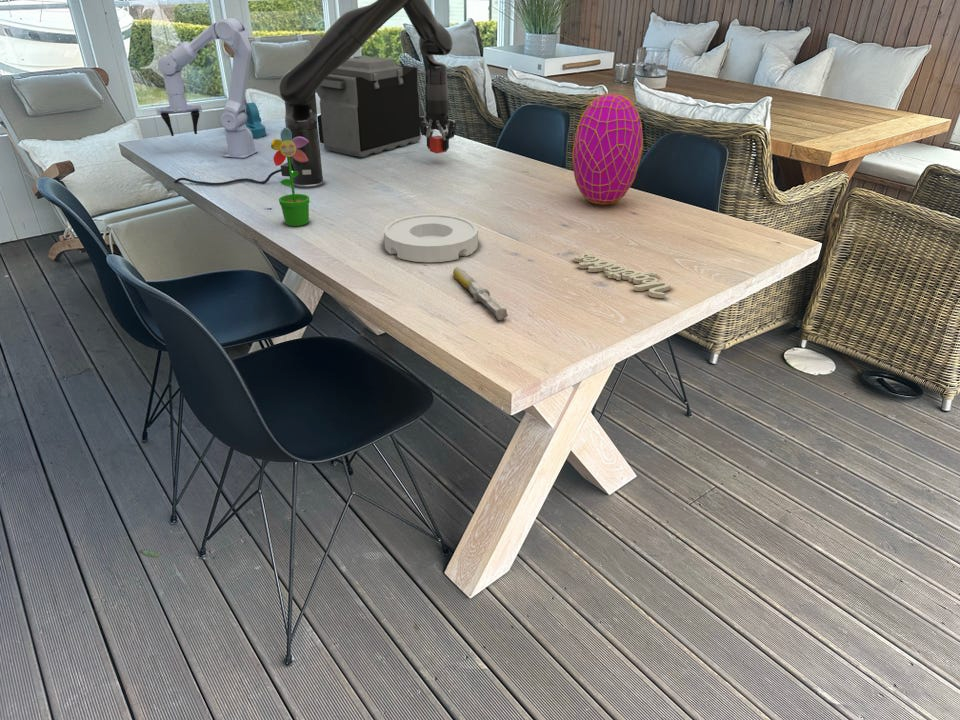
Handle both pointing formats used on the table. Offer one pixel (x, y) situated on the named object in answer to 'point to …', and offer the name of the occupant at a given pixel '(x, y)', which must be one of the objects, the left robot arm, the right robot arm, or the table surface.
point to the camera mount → (254, 121)
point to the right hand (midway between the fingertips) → (437, 149)
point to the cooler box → (369, 106)
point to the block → (436, 144)
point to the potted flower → (291, 178)
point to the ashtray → (431, 237)
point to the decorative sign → (625, 274)
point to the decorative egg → (607, 148)
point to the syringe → (479, 293)
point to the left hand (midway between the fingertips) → (184, 134)
